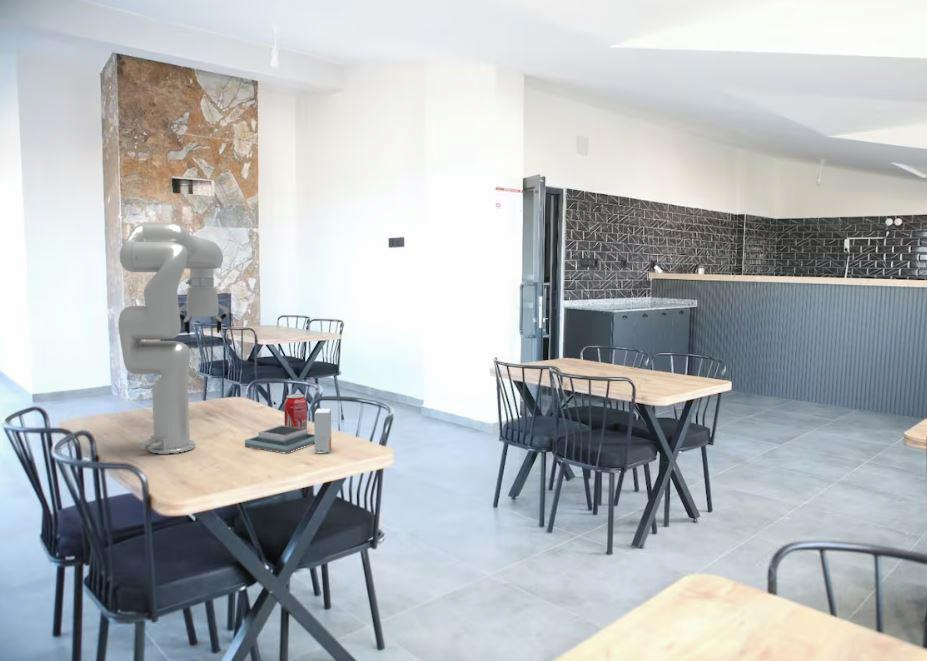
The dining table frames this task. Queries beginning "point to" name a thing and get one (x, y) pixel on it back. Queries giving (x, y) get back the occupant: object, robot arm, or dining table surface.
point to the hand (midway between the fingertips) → (203, 333)
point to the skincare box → (322, 430)
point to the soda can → (295, 411)
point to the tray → (281, 439)
